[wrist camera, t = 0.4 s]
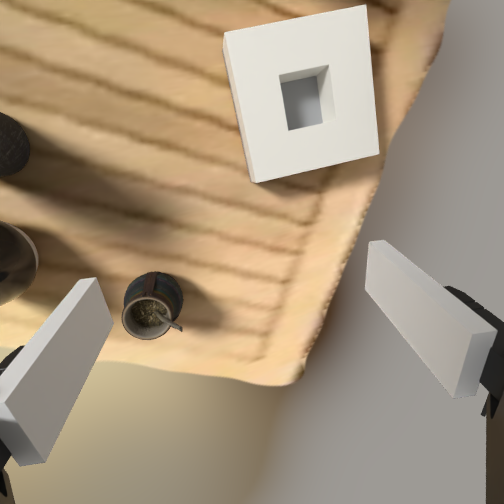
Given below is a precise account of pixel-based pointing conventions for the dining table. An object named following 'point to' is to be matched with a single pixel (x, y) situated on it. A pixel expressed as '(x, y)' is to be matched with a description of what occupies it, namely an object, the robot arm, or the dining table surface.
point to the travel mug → (12, 146)
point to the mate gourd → (152, 305)
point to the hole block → (303, 92)
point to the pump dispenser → (15, 262)
